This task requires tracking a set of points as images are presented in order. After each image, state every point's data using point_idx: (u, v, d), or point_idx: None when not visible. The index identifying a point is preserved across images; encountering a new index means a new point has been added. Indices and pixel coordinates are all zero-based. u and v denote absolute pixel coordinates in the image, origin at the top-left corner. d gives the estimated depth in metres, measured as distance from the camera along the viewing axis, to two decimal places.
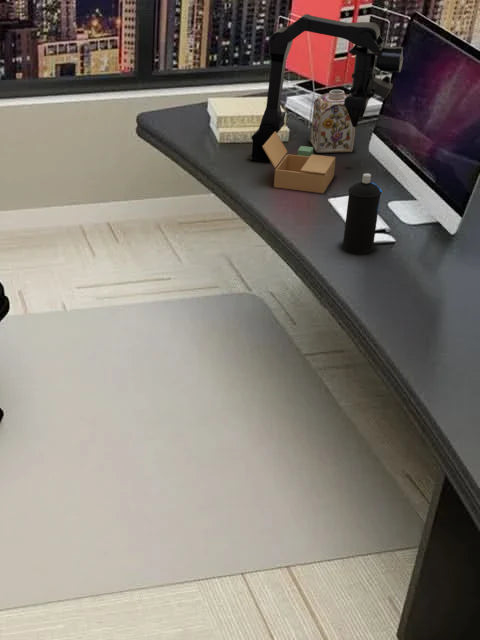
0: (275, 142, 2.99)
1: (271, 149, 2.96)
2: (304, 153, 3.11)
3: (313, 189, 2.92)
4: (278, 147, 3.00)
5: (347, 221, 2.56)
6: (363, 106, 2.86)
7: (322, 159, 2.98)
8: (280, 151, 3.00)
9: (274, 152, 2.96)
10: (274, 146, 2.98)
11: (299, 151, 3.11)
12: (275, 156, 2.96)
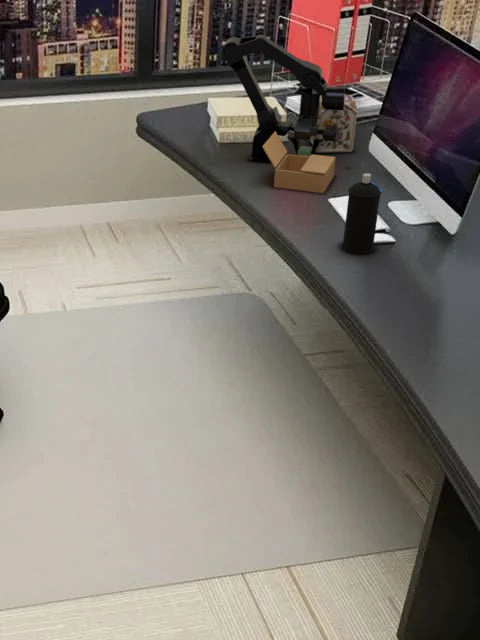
0: (275, 142, 2.99)
1: (271, 149, 2.96)
2: (304, 153, 3.11)
3: (313, 189, 2.92)
4: (278, 147, 3.00)
5: (347, 221, 2.56)
6: None
7: (322, 159, 2.98)
8: (280, 151, 3.00)
9: (274, 152, 2.96)
10: (274, 146, 2.98)
11: (299, 151, 3.11)
12: (275, 156, 2.96)
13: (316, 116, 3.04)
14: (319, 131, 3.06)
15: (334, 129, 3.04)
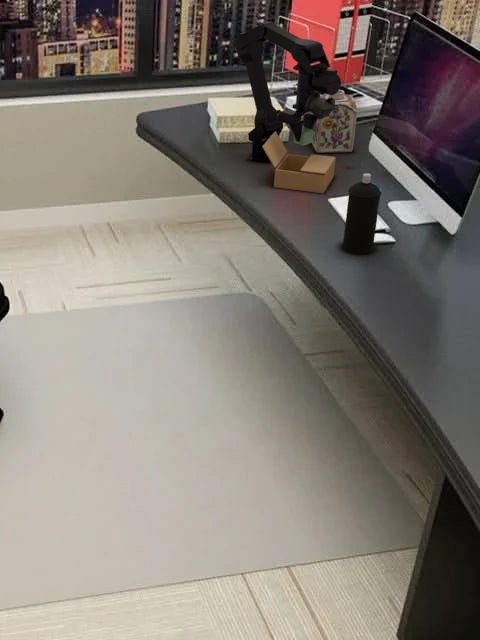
0: (275, 142, 2.99)
1: (271, 149, 2.96)
2: (308, 134, 2.98)
3: (313, 189, 2.92)
4: (278, 147, 3.00)
5: (347, 221, 2.56)
6: (291, 123, 2.89)
7: (322, 159, 2.98)
8: (280, 151, 3.00)
9: (274, 152, 2.96)
10: (274, 146, 2.98)
11: (305, 133, 2.97)
12: (275, 156, 2.96)
13: None
14: None
15: None
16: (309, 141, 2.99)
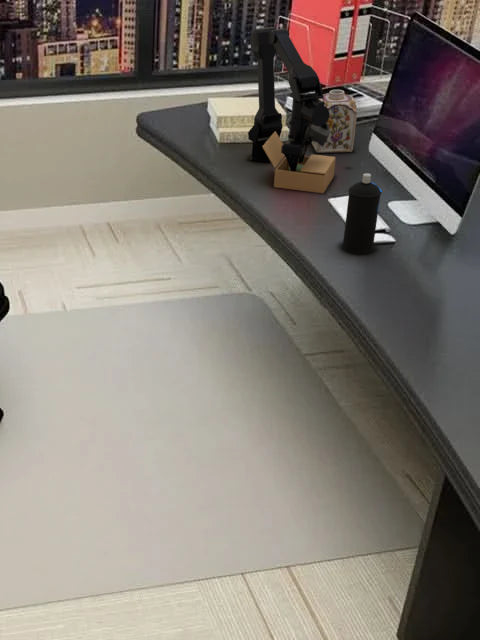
0: (275, 142, 2.99)
1: (271, 149, 2.96)
2: None
3: (313, 189, 2.92)
4: (278, 147, 3.00)
5: (347, 221, 2.56)
6: (300, 153, 2.86)
7: (322, 159, 2.98)
8: (280, 151, 3.00)
9: (274, 152, 2.96)
10: (274, 146, 2.98)
11: None
12: (275, 156, 2.96)
13: None
14: None
15: None
16: None
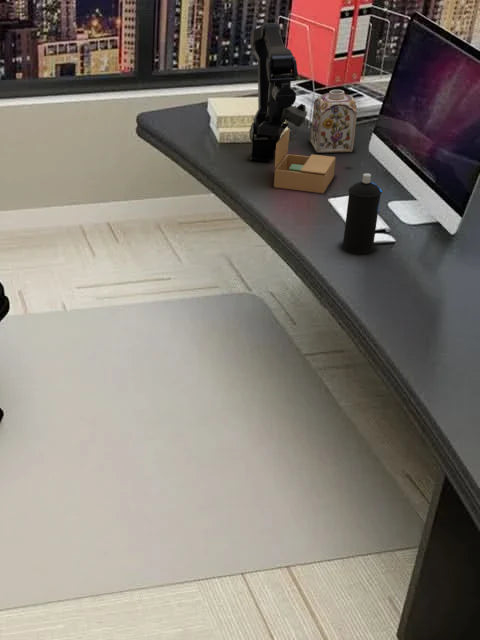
0: (285, 140, 2.98)
1: (280, 148, 2.94)
2: None
3: (313, 189, 2.92)
4: (284, 146, 2.99)
5: (347, 221, 2.56)
6: (276, 134, 2.86)
7: (322, 159, 2.98)
8: (284, 151, 2.99)
9: (280, 151, 2.96)
10: (283, 144, 2.96)
11: None
12: (279, 156, 2.95)
13: None
14: None
15: None
16: None
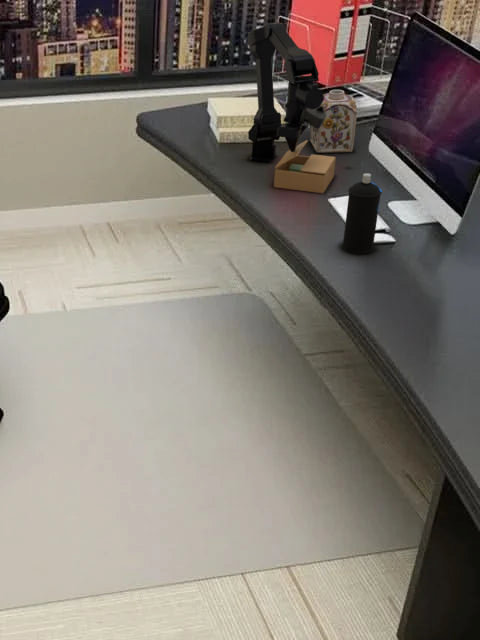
0: (297, 149, 2.98)
1: (292, 156, 2.94)
2: None
3: (313, 189, 2.92)
4: None
5: (347, 221, 2.56)
6: (295, 137, 2.84)
7: (322, 159, 2.98)
8: (289, 154, 2.99)
9: (289, 157, 2.95)
10: (294, 152, 2.96)
11: None
12: (285, 160, 2.95)
13: None
14: None
15: None
16: None
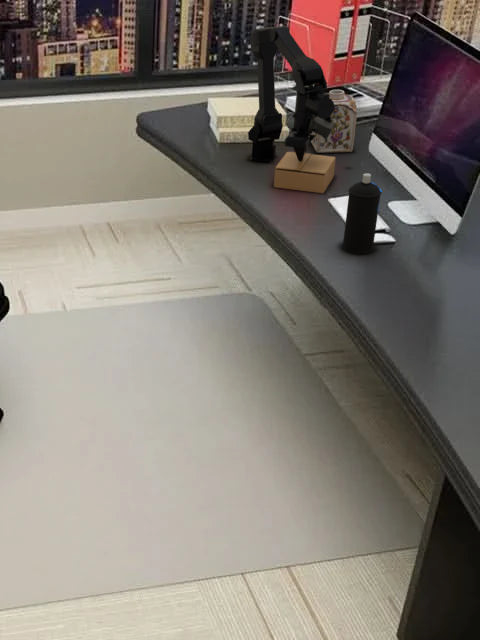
0: None
1: None
2: None
3: (313, 189, 2.92)
4: None
5: (347, 221, 2.56)
6: (303, 146, 2.85)
7: (322, 159, 2.98)
8: None
9: None
10: None
11: None
12: None
13: None
14: None
15: None
16: None
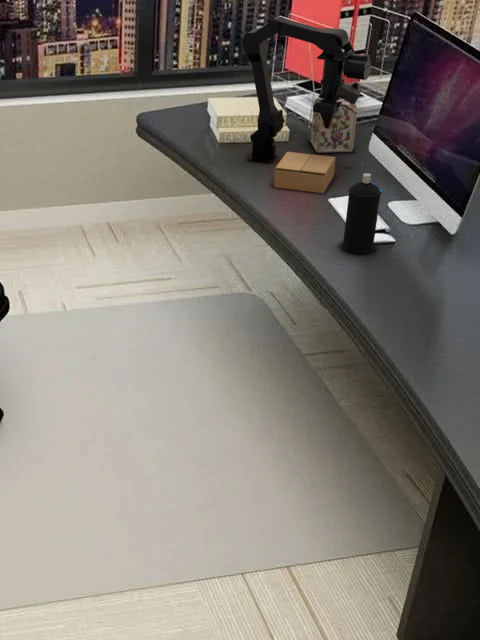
0: None
1: None
2: None
3: (313, 189, 2.92)
4: None
5: (347, 221, 2.56)
6: (331, 112, 2.88)
7: (322, 159, 2.98)
8: None
9: None
10: None
11: None
12: None
13: None
14: None
15: None
16: None
